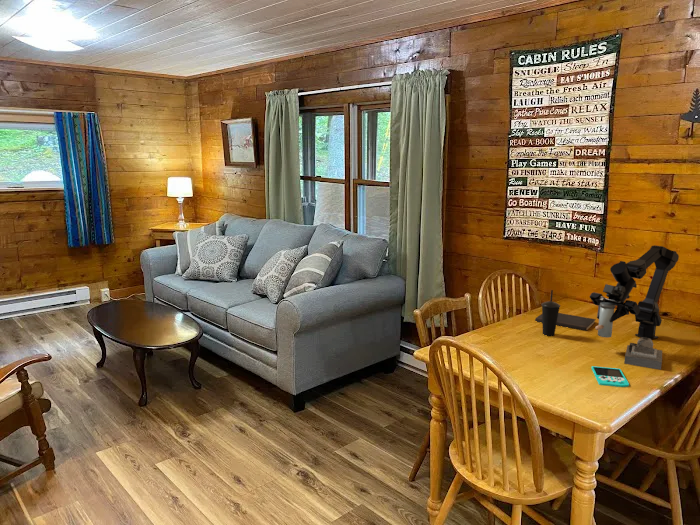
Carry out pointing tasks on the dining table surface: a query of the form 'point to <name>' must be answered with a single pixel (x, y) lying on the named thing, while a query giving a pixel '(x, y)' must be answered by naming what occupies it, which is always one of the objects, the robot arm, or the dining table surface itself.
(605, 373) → the handheld game console
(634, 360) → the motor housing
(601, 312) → the grey capped cylinder
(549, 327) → the drinking cup
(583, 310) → the dining table surface
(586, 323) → the hardcover book
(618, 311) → the robot arm
